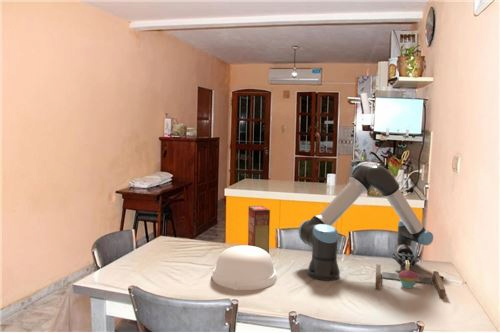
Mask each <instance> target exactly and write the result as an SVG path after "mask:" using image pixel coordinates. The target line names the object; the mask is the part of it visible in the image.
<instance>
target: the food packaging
mask: <svg viewBox="0 0 500 333" xmlns="http://www.w3.org/2000/svg"><path fill="white" fill-rule="evenodd" d="M247 214H248V223H247V225H248V227H247V231H248V232H247V234H248V236H247V238H248V239H247V246H255V247H258V248H261V249H263V250H265V251H266V252H267V253H268V254H269V255H270V222H271V221H270V220H271V218H270V217H271V216H270V215H271V210H270V209H269V208H267V207H265V206H264V205H249V206H248V213H247Z"/></svg>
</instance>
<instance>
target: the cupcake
mask: <svg viewBox="0 0 500 333" xmlns="http://www.w3.org/2000/svg"><path fill="white" fill-rule="evenodd" d="M398 274H399V276H398V277H399V278H400V280H401V281H400V283H401V286H402V287H404V288H406V289H413V287H414V285H415V284H416V283H415V282H416V281H418V279H419V277H418V276H419V275H418V274H417V273H416V272H414V270H410V269H409V270H408V259H407V270H406V269H404V270H402V271H399V273H398Z"/></svg>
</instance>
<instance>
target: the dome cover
mask: <svg viewBox="0 0 500 333" xmlns="http://www.w3.org/2000/svg"><path fill="white" fill-rule="evenodd" d="M211 278H212V280H213V282H214V283H215V284H216V285H217V284H218V285H219V286H221V287H224V288H227V289H232V290H233V291H237V290H240V291H245V290H246V291H251V290H252V291H253V290H254V291H255V290H261V289H265V288H268V287H270V286H273V285H274V284H275V283H276V282H277V280H278V274H277V271H276V269H275V268H274V262H273V259H272V257H271V255H270V253H269V254H268V253H267V252H266V251H265V250H263V249H261V248H258V247H255V246H248V244H246V245H244V244H243V245H235V246H230V247H229V248H226V249H224V250H223V251H222V252H221V253H220V255H219V256H218V258H217V260H216V265H215V267H214V268H213V270H212V277H211Z"/></svg>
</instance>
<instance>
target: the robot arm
mask: <svg viewBox="0 0 500 333" xmlns="http://www.w3.org/2000/svg"><path fill="white" fill-rule="evenodd" d="M400 187H401V186H400V185H399V183H398V181H397V179H396V178H395V177H394V176H393V174H392V173H391V172H390V171H389V170H388V169H387V168H386V167H384V166H381V165H376V164H371V163H365V162H364V163H359V164H357V165H355V167H353V169H352V171H351V176H349V182H348V183H347V184H346V185H345V187H344V188H343V189H342V190H341V191H340V192H339V193H338V194H337V195H336V196H335V197H334V198H333V199H332V200H331V201H330V203H328V205H327V206H326V207H325V208H324V209H322V211H321V212H320V213H319V214H318V215H316V214H315V215H313V216H312V217H311V218H310V219H309V220H305V221H302V223H300V225H299V228H298V236H299V239H300V240H301V241H302V243H304V245H307V246H309V247H310V248H311V249H312V250H311V252H312V253H311V260H310V262H309V264H308V268H307V276H308V277H310V278H312V279H315V280H318V279H319V281H335V280H338V279H339V278H340V275H341V274H340V273H341V272H340V267H339V264H338V260H337V258H338V256H337V255H338V242H339V235H338V234H339V232H338V230H337V228H336V227H334V225H335V224H336V222H337V221H338V220H339V219H340V218H341V217H342V216H343V215H344V214H345V213H346V212H347V211H348V209H350V208H351V206H352V205H353V204H354V203H355V202H356V201H357V200H358V199H359V197H361V196H362V194H368V192H369V191H370V190H372V189H376V191H378V192H379V193H380V194H381V196H382V197H385V198H386V200H387V201H388V202H389V204H390V206H391V207H392V209H393V210H394V211H395V213H396V215H397V216H398V217H399V221H398V226H397V241H396V252H397V253H392V259H393V260H394V261H396V262H397V264H399V265H402V267H404V268H405V270H407V259H408V270H410V268H412V266H413V267H415V266H416V264H417V263H418V262H420V256H419V255H414V252H413V249H412V248H413V247H412V244H413V242H415V243H417V244H419V245H423V246H430V245H432V243H433V240H434V235H433V233H432V232H430V231H429V230H427V229H426V228H425V227H424V225H423V224H422V223H421V220H420V219H419V218H418V216H417V214H416V213H415V210H413V208H412V206H411V205H410V203H409V202H408V200H407V199H406V197H405V196H404V194H403V193H402V191H401V190H400Z"/></svg>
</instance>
